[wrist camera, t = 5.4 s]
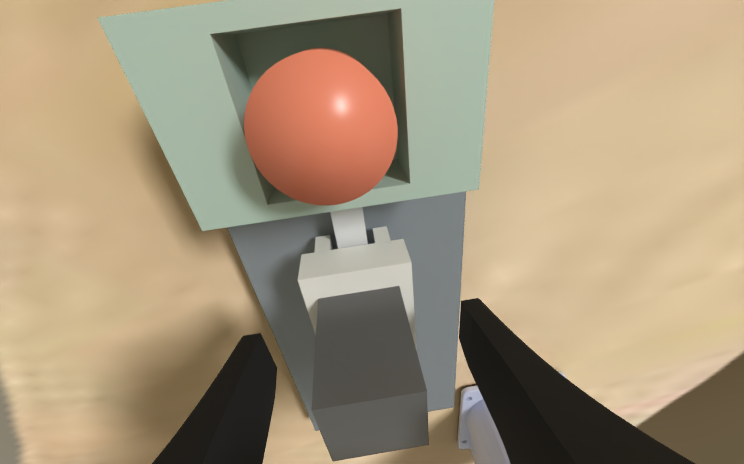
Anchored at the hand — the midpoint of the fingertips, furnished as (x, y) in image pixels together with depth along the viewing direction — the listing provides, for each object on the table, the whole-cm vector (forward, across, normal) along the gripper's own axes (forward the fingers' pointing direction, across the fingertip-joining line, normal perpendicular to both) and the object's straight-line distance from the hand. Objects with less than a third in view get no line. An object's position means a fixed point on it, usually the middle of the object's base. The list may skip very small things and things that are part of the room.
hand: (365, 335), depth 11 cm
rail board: (+5, 0, +5) cm, 7 cm away
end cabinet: (+5, 0, -8) cm, 9 cm away
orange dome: (+1, 0, -8) cm, 8 cm away
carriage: (+4, 0, 0) cm, 4 cm away
